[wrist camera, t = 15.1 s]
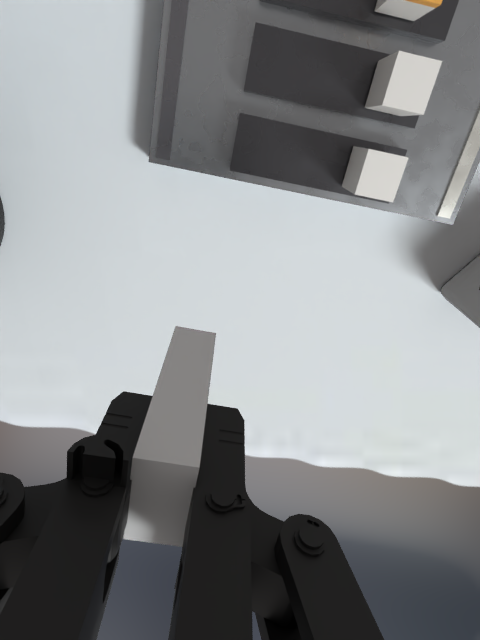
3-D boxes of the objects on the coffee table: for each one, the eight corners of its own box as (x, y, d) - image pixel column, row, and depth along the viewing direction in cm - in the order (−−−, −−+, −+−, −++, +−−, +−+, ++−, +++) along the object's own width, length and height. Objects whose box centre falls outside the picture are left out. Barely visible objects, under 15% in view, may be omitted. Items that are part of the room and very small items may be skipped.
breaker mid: (364, 108, 32) (382, 105, 28) (378, 60, 30) (398, 50, 26) (401, 116, 32) (423, 114, 28) (416, 69, 31) (442, 61, 27)
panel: (153, 160, 37) (144, 163, 34) (179, -102, 29) (171, -130, 26) (443, 220, 39) (460, 228, 36) (536, -9, 32) (569, -24, 29)
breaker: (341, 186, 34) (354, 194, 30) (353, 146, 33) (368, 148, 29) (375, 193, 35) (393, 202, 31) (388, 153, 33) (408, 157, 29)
